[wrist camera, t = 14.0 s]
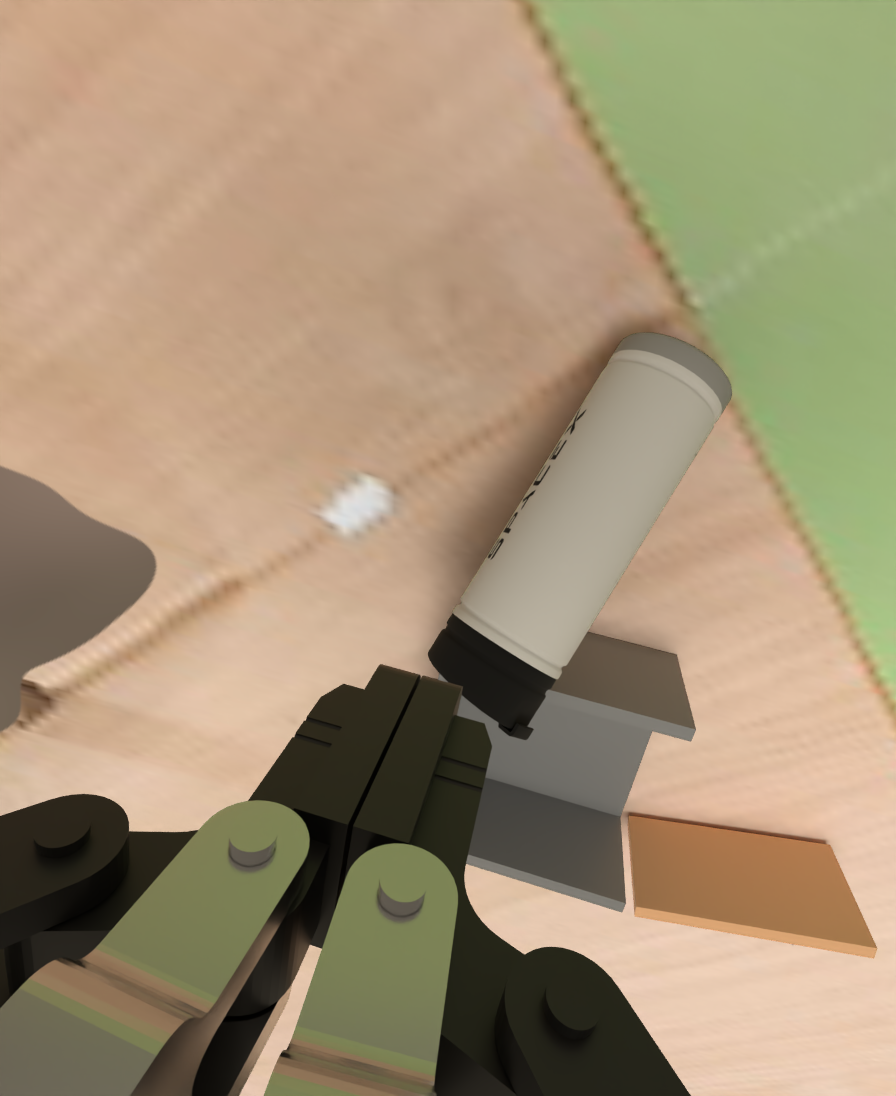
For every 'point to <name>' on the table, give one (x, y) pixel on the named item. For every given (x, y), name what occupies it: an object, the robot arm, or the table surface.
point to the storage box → (576, 770)
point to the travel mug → (579, 526)
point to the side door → (745, 885)
